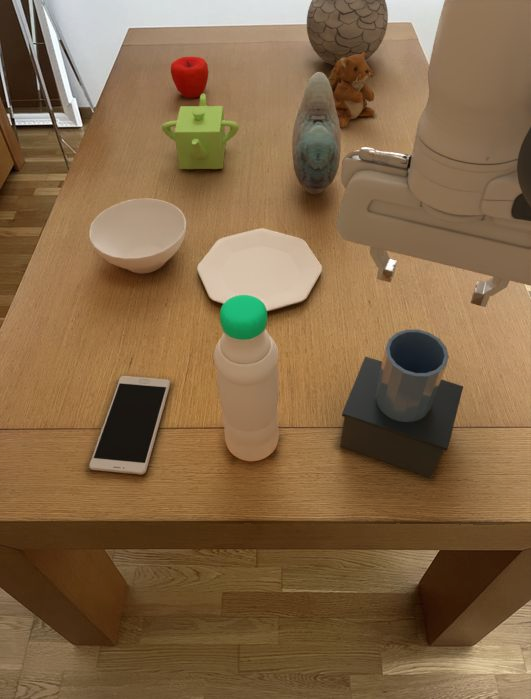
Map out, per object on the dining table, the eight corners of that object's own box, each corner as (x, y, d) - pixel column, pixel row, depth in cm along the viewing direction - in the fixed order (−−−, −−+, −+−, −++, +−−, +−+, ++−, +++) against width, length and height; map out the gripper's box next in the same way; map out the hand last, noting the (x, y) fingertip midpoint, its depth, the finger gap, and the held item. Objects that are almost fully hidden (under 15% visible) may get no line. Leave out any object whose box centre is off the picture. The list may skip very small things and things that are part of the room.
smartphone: (171, 379, 80) (144, 473, 71) (171, 381, 81) (145, 476, 71) (119, 374, 81) (86, 468, 71) (120, 377, 82) (88, 470, 72)
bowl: (80, 277, 96) (69, 245, 90) (129, 222, 105) (121, 190, 100) (164, 301, 92) (157, 268, 86) (206, 241, 101) (202, 209, 96)
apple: (195, 82, 141) (192, 49, 135) (218, 94, 137) (215, 60, 131) (166, 94, 138) (161, 61, 132) (188, 106, 133) (184, 73, 127)
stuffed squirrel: (343, 130, 125) (348, 70, 115) (309, 104, 133) (311, 45, 123) (379, 119, 128) (388, 59, 118) (344, 94, 136) (349, 35, 126)
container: (448, 421, 76) (463, 386, 70) (433, 481, 70) (447, 448, 64) (358, 392, 79) (365, 356, 73) (336, 447, 74) (342, 413, 68)
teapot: (207, 134, 125) (202, 86, 117) (251, 156, 119) (250, 107, 111) (155, 163, 118) (146, 114, 110) (199, 187, 112) (193, 138, 104)
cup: (436, 387, 70) (453, 339, 63) (424, 429, 66) (441, 383, 59) (383, 370, 72) (394, 322, 65) (368, 411, 68) (378, 364, 61)
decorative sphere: (297, 76, 142) (299, -14, 127) (314, 44, 155) (317, -41, 139) (375, 85, 139) (387, -7, 123) (386, 51, 151) (398, -36, 136)
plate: (187, 252, 99) (186, 246, 98) (291, 226, 103) (291, 219, 102) (222, 330, 87) (221, 323, 86) (337, 296, 91) (338, 290, 90)
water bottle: (268, 470, 72) (264, 342, 53) (217, 454, 73) (195, 324, 54) (285, 426, 76) (288, 292, 57) (237, 411, 78) (224, 276, 58)
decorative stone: (339, 220, 104) (349, 117, 89) (290, 219, 105) (292, 116, 89) (335, 159, 118) (344, 59, 102) (292, 158, 118) (294, 59, 103)
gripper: (332, 161, 47) (323, 282, 58) (594, 216, 42) (531, 338, 52) (354, 125, 51) (342, 245, 62) (598, 171, 45) (538, 294, 56)
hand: (431, 289), depth 57 cm, fingers open, 8 cm apart
